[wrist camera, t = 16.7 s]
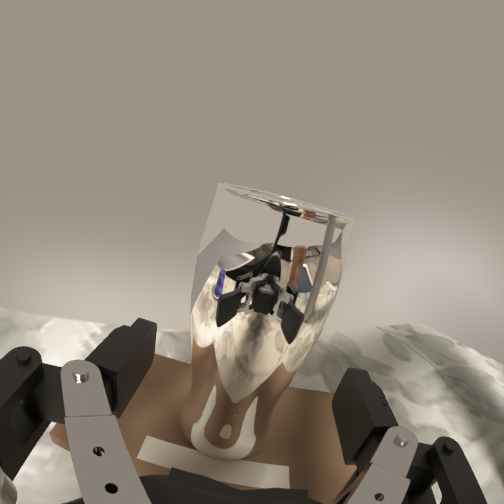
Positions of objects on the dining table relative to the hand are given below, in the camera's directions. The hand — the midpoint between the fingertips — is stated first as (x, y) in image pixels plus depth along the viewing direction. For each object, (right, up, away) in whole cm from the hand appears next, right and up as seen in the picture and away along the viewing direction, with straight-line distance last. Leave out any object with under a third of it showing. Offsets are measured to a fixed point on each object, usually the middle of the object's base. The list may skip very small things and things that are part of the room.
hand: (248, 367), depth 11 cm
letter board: (-2, -8, +6) cm, 10 cm away
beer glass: (-2, -7, +6) cm, 10 cm away
